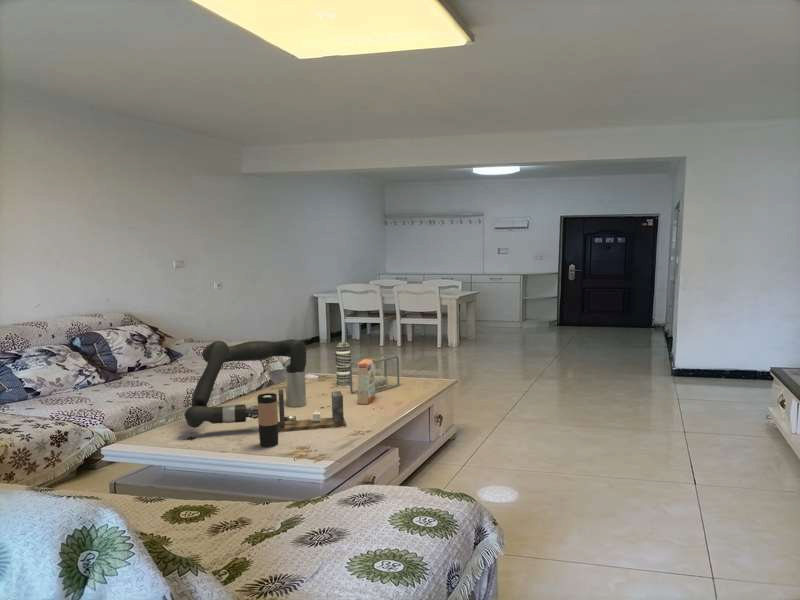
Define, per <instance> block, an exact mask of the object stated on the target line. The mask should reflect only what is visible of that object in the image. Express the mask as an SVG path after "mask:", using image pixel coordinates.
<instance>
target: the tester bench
mask: <svg viewBox="0 0 800 600" xmlns="http://www.w3.org/2000/svg"><path fill="white" fill-rule="evenodd" d="M331 411H332V412H331V416H332V417H324V418H323V417H322V418H321V417H320V419H321V420H320V421H314V420H313V418H310V419H309V418H308V419H300V420H299V419H296V421H285V426H283V427H280V421H278V433H284V432H295V431H308V430H309V429H310V430H319V429H318V428H322V429H330V427H334V428H342V427H341V426H346V427H347V422H346V419H345V417H344V395H343V394H342V391H341V390H336V391H334V390H333V391H331Z"/></svg>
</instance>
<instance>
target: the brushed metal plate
mask: <svg viewBox="0 0 800 600" xmlns="http://www.w3.org/2000/svg"><path fill="white" fill-rule="evenodd" d="M284 400H285V399H284V390H283V389H278V409H279V410H278V411H279V413H278V414H279V422H280V427H283V426H285V421H296V420H297V416H296V415H291V416H285V401H284Z"/></svg>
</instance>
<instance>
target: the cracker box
mask: <svg viewBox="0 0 800 600" xmlns="http://www.w3.org/2000/svg"><path fill="white" fill-rule="evenodd" d="M363 359H364V360H362V361H361V362H358V363H356V366H357V368H356V370H357V371H356V373H357V390H358V394H357V404H358V405H369V404H370V403H371V402H373V400H375V399H374V398H376V393H375V391H376V387H375V379H376V372H375V369H376V368H375V363H374V359H365V358H363Z"/></svg>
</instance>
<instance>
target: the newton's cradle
mask: <svg viewBox="0 0 800 600" xmlns="http://www.w3.org/2000/svg"><path fill="white" fill-rule="evenodd" d="M364 359H374V364H375V363H376V369H378V364H379V362H380V364H381V365H380V367H381V369H380V370H381V371H383V370H384V374H382V376H381V374H380V373H379V371H376V372H375V375H377V374H378V375H379V374H380V375H379V377H378V378H375V388H378V386H379V387H382V386H385V385H387V386H388V387H385V388H380V389H378V390H375V394H378V393H381V392H384V391H388V390H391V389H394V388H397V387H399V386H400V359H399V356H398V355H387V354H386V355H385V354H378V355H375V356H369V357H365V358H362V359H361V358H360V359H357V360H353V361H352V360H351V361H350V362H351V363H350V387H349V388H350V390H349V391H350V394H352V393H354V394H357V393H356V392H358V389H357V390H355V391H353V370H352V369H353V367H352V366H353V364H357V363H359V362H361V361H362V360H364ZM392 359H396V374H397V375H396V377H397V378H396V379H397V381H396V384H395V385H394V384H389V383H388V376H387V364H388V363H387V362H388V360H392ZM383 362H384V363H383ZM383 365H384V367H383ZM383 368H384V369H383ZM377 392H378V393H377Z"/></svg>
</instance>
